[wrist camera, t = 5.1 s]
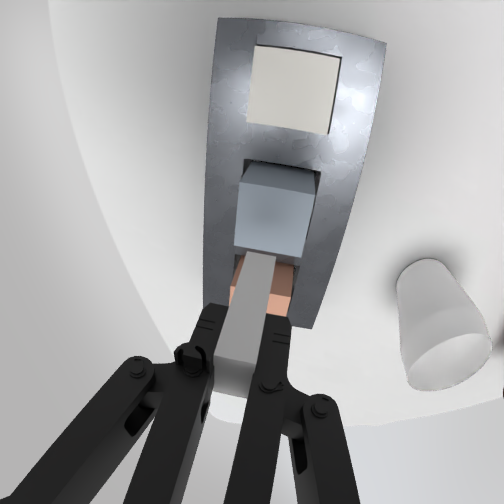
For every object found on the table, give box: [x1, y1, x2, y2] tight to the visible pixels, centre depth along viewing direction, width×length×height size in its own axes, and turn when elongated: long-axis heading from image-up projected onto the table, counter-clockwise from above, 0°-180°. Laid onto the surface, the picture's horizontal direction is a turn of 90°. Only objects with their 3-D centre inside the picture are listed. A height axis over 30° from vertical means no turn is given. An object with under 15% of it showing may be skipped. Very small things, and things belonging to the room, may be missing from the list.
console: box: [203, 18, 387, 329], centre depth 25 cm, size 28×12×4 cm, turn 174°
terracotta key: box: [229, 255, 294, 317], centre depth 28 cm, size 5×5×5 cm
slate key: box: [234, 161, 315, 258], centre depth 22 cm, size 5×5×5 cm
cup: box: [396, 259, 492, 391], centre depth 25 cm, size 9×9×12 cm
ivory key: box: [246, 46, 340, 135], centre depth 18 cm, size 5×5×5 cm
